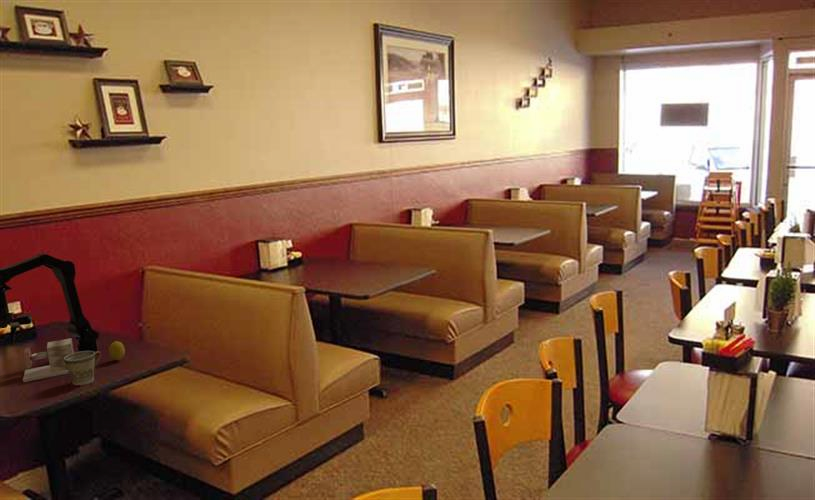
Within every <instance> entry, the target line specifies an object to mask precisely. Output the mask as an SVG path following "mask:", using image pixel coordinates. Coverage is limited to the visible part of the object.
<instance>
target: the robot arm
mask: <svg viewBox="0 0 815 500" xmlns="http://www.w3.org/2000/svg"><path fill="white" fill-rule="evenodd" d="M41 266H44V267H46V268H48V269H50V270H51V271H52V273H53V275H54V278H56V280H57V281H58V282H59V283H60V286H61V290H62V292H63V293H62V294H63V296H64V300H65V304H66V307H67V310H68V314H69V317H70V318H69V321H67V322H65V325H66V328H67V333H69V334H70V335H71V336H73V337H74V338H75V340H78V343H77V349H78V350H77V352H81V351H93V352H96V351H99V349H98V343H97V340H98V339H99V336H100V333H99V332H98V331H95V330H94V329H93V328H92V325H91V324H90V321H89V320H88V318H87V317H86V316H85V315H84V313H83V309H82V304H81V302H80V298H79V295H78V289H77V286H76V284H75V279H76V265H75V263H74V262H72V261H71V260H63V259H60V258H57V257H54V256H51V255H50V254H48V253H38V254H37V255H34V256H32V257H29V258H26V259H24V260H21V261H18V262H16V263H13V264H11V265H8V266H2V267H0V329H6V328H8V326H9V325H10V327H9V329H10V343H11V346H13V345H14V341H15V336H16V331H17V329H19V328H20V327H21V326H25V325H31V324H32V323H33V322H32V321H33V316H32V314H31V313H24V314H18V317H15V318H14V316H13V314H12V312H10V310H9V304H8V298H7V293H6V291H10V290H12V287H11V286H9V285H8V284H7V283H8V282H10V281H11V280H12V279H13V278H15V277H16V276H20V275H22V274H25V273H27V272H29V271H32V270H34V269H37V268H39V267H41ZM98 354H99V352H98V353H97V354H96V355H98Z"/></svg>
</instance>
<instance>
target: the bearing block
mask: <svg viewBox="0 0 815 500" xmlns="http://www.w3.org/2000/svg"><path fill="white" fill-rule="evenodd" d="M46 351H47V352H48V361H49V362H48V363H49V365H50V369H51V372H57V371H62V370H67V368H66V365H65V362H64V357H65V356H67V355H69V354H72V353H75V351H74V345H73V340H72V337H71V338H70V337H69V338H66V339H61V340H53V341H48V342H47V345H46Z"/></svg>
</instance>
